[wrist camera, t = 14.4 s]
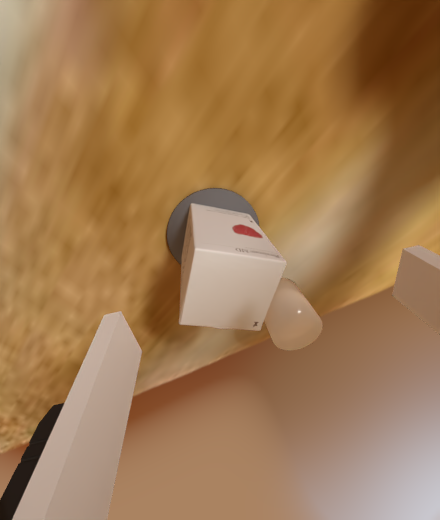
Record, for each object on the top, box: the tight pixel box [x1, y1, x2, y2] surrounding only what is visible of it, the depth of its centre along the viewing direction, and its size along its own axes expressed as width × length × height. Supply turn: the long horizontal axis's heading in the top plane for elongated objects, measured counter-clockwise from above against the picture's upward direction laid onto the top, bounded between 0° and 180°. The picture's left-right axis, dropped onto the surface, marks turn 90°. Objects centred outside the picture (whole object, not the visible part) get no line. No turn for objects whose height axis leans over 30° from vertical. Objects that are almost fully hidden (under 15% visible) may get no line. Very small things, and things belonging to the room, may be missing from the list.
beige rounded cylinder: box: [264, 278, 323, 351], centre depth 40 cm, size 8×8×9 cm
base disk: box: [167, 188, 259, 264], centre depth 36 cm, size 14×14×1 cm
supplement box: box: [179, 203, 287, 331], centre depth 29 cm, size 9×9×15 cm
